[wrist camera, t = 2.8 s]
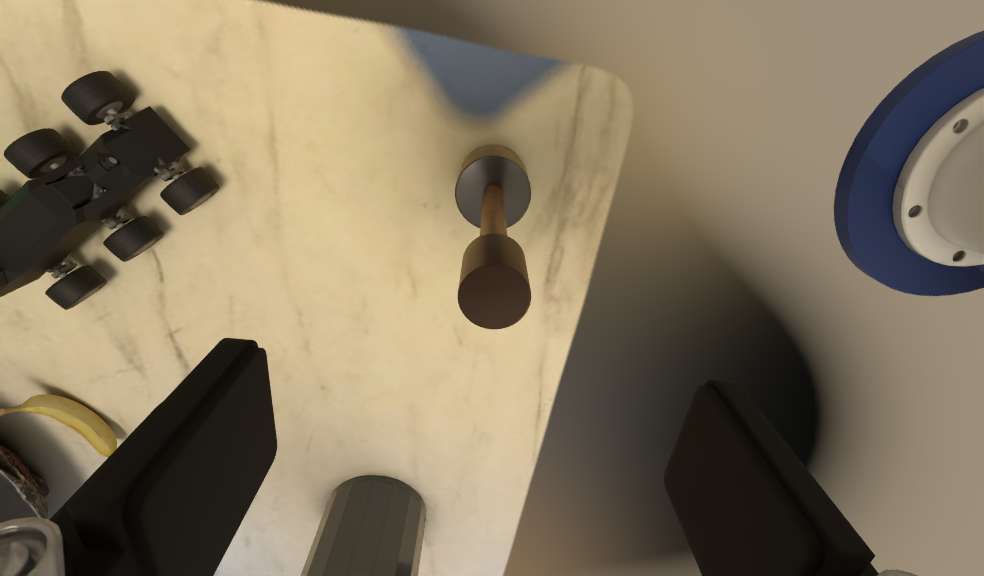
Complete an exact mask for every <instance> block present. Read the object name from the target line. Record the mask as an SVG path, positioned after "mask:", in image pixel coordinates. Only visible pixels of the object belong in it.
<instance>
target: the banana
mask: <svg viewBox="0 0 984 576" xmlns="http://www.w3.org/2000/svg"><path fill="white" fill-rule="evenodd" d="M16 411H25V412H30V413H37V414H42V415H46V416H49V417H52V418H54V419H56V420H58V421H60V422H61V423H63V424H65V425H67V426H68V427H70V428H72V429H73V430H75V431H76V432H78V433H79V434H80V435H82V436H83V437H84V438H85V439H86V440H87V441H88V442H89V443H90V444H91V445H92V446H93V447H94V448H95V450H96V451H98V452H99V453H100V454H102V455H104V456H107V457H110V456H111V454H112V453H113V452H114V451H115V450H116V448H117V440H116V437H115V435H114V433H113V431H112V430H111V429H110V428H109V426H108V425H107V424H106V423H105V422H104V421H103V420H102V419H101V418H100V417H99V416H98V415H97V414H95V413H94V412H93V411H91V410H90V409H88V408H86V407H85V406H83V405H81V404H79V403H77V402H75V401H73V400H70V399H68V398H64V397H61V396H56V395H37V396H34V397H31V398H30V399H28V400H27V401H26V402H24V403H23V404H22V405H19V406H15V407H10V408H5V409H4V408H2V409H0V416H2V415H4V414H7V413H11V412H16Z"/></svg>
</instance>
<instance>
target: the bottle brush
mask: <svg viewBox="0 0 984 576" xmlns="http://www.w3.org/2000/svg"><path fill="white" fill-rule="evenodd" d="M455 198H456V203H457V206H458V209H459V211H460V212H461V214H462V215H463V217H464V218H465V219H466V220H467V221H468V222H470V223H471V224H473V225H474V226H476V227H478V228H480V237H478V238H476V239H475V240H474V241H472V242H471V243H470V244H469V246H468V247H467V248H466V250H465V252H464V256H463V261H462V268H461V275H460V282H459V289H458V303H459V306H460V309H461V311H462V312H463V314H464V315H465V316H466V318H467V319H469V320H470V321H471V322H472V323H474V324H476V325H477V326H480V327H483V328H487V329H502V328H506V327H509V326H511V325H513V324H515V323H516V322H518V321H519V320H520V319H521V318H522V317H523V316H524V315H525V314H526V312H527V310H528V308H529V306H530V302H531V290H530V284H529V279H528V273H527V267H526V261H525V256H524V253H523V250H522V248H521V247H520V246H519V244H518V243H517V242H516V241H514V240H513V239H512V238H510V237H508V236H507V228H508V227H510V226H512V225H513V224H515V223H516V222H518V221H519V220H520V219H521V218H522V217H523V215H524V214H525V212H526V210H527V209H528V206H529V203H530V199H531V187H530V183H529V180H528V176H527V173H526V170H525V167H524V164H523V162H522V161H521V159H520V158H519V156H518V155H517V154H516V153H515V152H513V151H512V150H511V149H509V148H507V147H504V146H501V145H494V144H491V145H485V146H481V147H479V148H477V149H475V150H474V151H472V152H471V153H470V154H469V155H468V156H467V157H466V159H465V160H464V162H463V164H462V166H461V169H460V173H459V176H458V180H457V183H456V188H455Z"/></svg>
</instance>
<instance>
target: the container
mask: <svg viewBox="0 0 984 576" xmlns="http://www.w3.org/2000/svg"><path fill="white" fill-rule="evenodd" d="M425 521H426V509H425V505H424V503H423V500H422V499H421V497H420V496H419V495H418V493H417V492H416V491H414V490H413V489H412V488H411V487H409V486H408V485H406V484H404V483H402V482H400V481H398V480H395V479H392V478H387V477H381V476H363V477H358V478H354V479H351V480H349V481H347V482H345V483H343V484H341V485H340V486H339V487H338V488H337V489H336V490H335V491H334V492H333V494H332V496H331V498H330V500H329V501H328V503H327V506H326V509H325V511H324V514H323V517H322V519H321V522H320V525H319V528H318V530H317V533H316V536H315V538H314V541H313V544H312V546H311V549H310V552H309V555H308V557H307V560H306V563H305V565H304V568H303V571H302V573H301V576H418V570H419V563H420V556H421V549H422V542H423V535H424V528H425Z"/></svg>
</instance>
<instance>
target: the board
mask: <svg viewBox="0 0 984 576" xmlns="http://www.w3.org/2000/svg"><path fill="white" fill-rule="evenodd" d="M48 491H49V488H48V487H47V485H46V482H44V481H43V479H40V478H39V477H38V476H36V475H34V474H32V472H31V470H30V469H29V467H28V466H27V464H26V463H25V462H24V461H23V460H22V459H21V458H20V457H19V456H18V455H17V454H15V453H14V452H12V451H10V450H8V449H7V448H5V447H3V446H1V445H0V523H2V522H6V521H9V520H13V519H19V518H28V517H37V518H44V519H47V518H48V510H47V503H46V501H45V499H44V498H45V496H46V495H47V494H48Z"/></svg>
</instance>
